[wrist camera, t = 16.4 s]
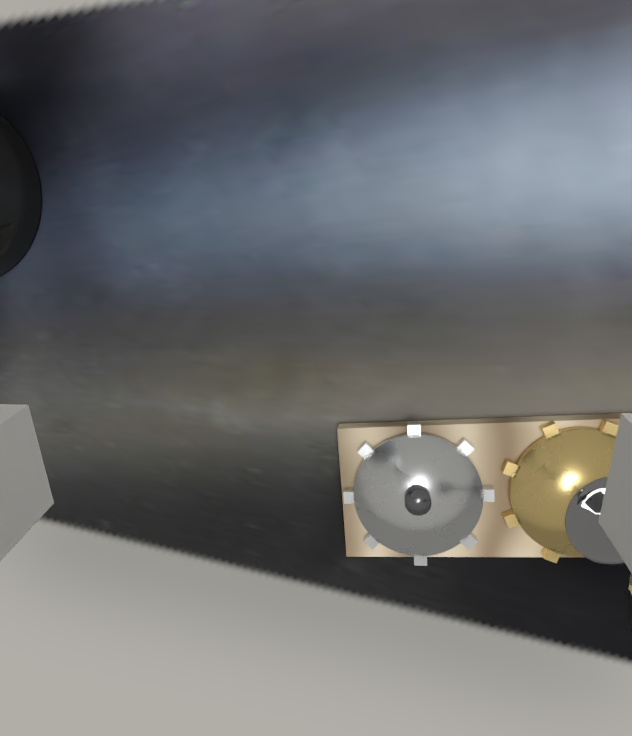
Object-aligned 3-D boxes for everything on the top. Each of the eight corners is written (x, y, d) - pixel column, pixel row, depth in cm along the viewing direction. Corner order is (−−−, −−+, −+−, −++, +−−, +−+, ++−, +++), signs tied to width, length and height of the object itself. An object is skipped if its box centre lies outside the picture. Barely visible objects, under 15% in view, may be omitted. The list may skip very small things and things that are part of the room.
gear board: (348, 550, 44) (344, 573, 41) (338, 420, 42) (334, 432, 39) (651, 551, 40) (675, 575, 37) (655, 408, 39) (680, 420, 35)
